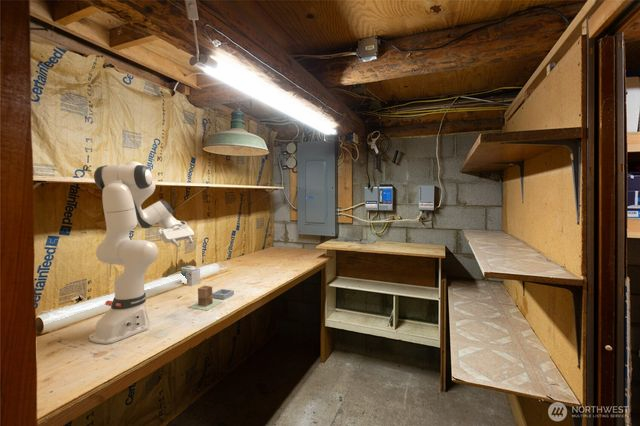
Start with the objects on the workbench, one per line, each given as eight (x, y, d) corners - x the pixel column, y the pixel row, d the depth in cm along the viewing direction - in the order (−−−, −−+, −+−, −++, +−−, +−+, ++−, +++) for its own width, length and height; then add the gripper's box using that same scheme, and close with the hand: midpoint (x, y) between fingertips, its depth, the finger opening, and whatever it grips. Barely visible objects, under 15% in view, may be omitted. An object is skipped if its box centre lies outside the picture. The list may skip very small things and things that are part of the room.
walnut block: (205, 306, 156) (205, 289, 156) (198, 305, 158) (197, 288, 157) (212, 303, 161) (212, 286, 160) (205, 301, 163) (204, 285, 162)
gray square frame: (224, 299, 167) (224, 295, 167) (211, 297, 170) (211, 293, 170) (234, 294, 175) (233, 290, 175) (221, 292, 178) (221, 288, 178)
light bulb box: (180, 283, 196) (180, 267, 195) (189, 281, 202) (189, 265, 201) (192, 286, 191) (191, 269, 190) (200, 283, 197) (200, 267, 196)
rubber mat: (206, 310, 152) (206, 309, 152) (188, 307, 156) (188, 306, 156) (222, 302, 163) (222, 301, 163) (204, 299, 167) (204, 298, 167)
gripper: (159, 225, 164) (173, 244, 161) (187, 221, 183) (201, 238, 181) (153, 233, 166) (167, 252, 163) (182, 228, 185) (195, 245, 182)
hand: (185, 244), depth 172 cm, fingers open, 8 cm apart
